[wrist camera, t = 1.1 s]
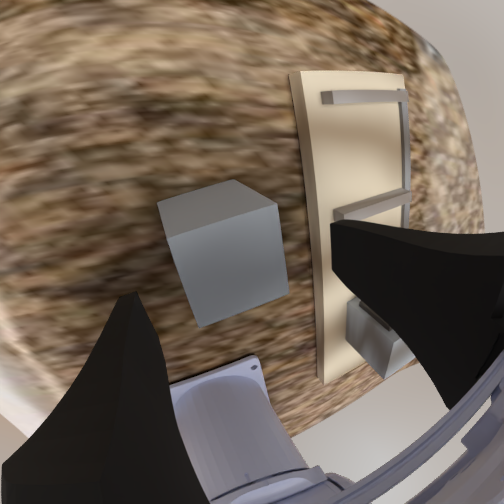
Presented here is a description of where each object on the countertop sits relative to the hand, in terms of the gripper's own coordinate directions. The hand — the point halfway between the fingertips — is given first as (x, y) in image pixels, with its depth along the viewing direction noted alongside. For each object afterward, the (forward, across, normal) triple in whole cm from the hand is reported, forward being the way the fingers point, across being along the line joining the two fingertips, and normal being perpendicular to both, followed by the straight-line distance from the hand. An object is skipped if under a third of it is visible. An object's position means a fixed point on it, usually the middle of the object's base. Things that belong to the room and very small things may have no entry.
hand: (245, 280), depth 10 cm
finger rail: (+6, -10, +5) cm, 13 cm away
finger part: (+6, 0, 0) cm, 6 cm away
